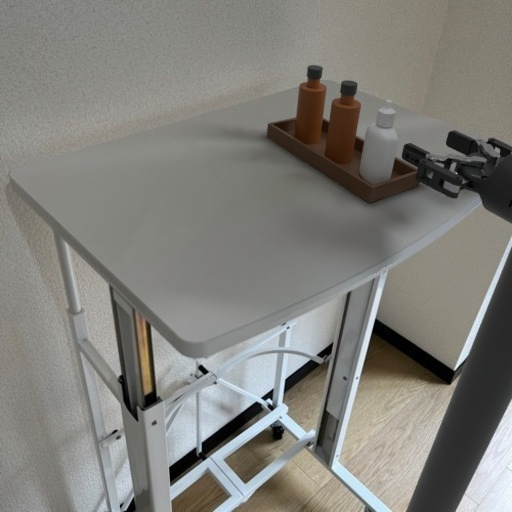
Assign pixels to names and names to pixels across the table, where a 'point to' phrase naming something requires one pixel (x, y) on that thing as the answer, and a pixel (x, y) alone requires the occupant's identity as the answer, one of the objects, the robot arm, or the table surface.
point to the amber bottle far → (310, 107)
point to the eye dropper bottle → (379, 147)
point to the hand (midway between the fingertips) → (427, 143)
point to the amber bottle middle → (343, 124)
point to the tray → (342, 172)
